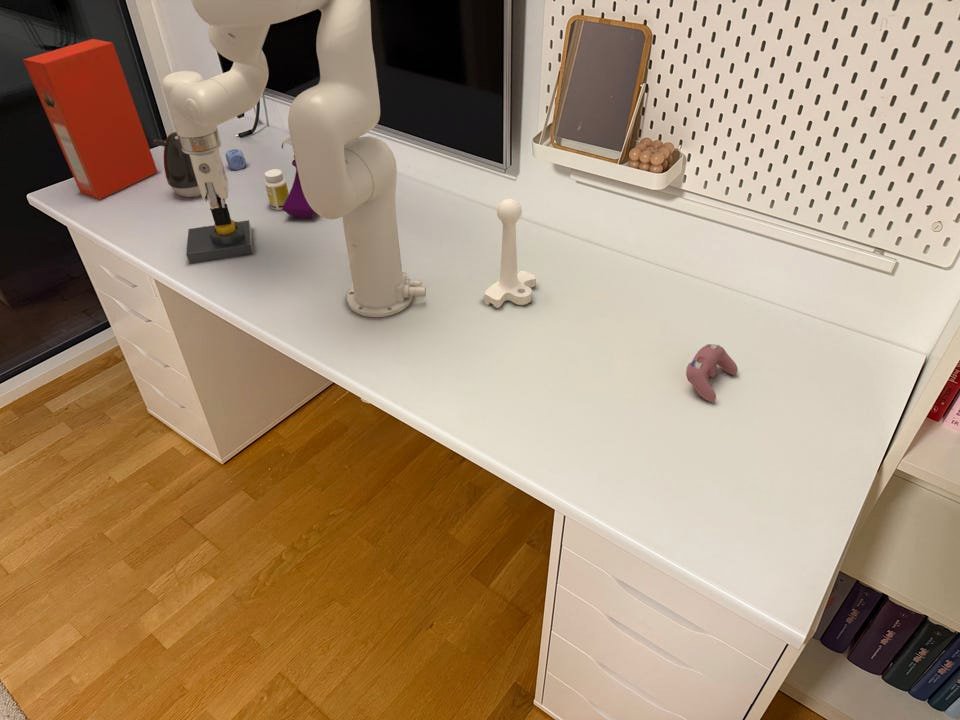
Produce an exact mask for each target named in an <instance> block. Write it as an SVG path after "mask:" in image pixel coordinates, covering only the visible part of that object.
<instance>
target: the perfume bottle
mask: <svg viewBox="0 0 960 720" xmlns="http://www.w3.org/2000/svg"><path fill="white" fill-rule="evenodd" d="M284 144H288V145H291V146H292V142H291V138H290V137H287V138H286V139H284V140H283V141H282V143H281V147H280V148H281V149H282V150H284ZM291 165H292V166H293V167H295V175H294V179H293V183H292V186H291V189H290V191H289V192H288V193H289V195H288V197H287V199H286V201H285V203H284V205H283V207H282V210H283V211H284V212H285V213H286V214H288V215H289V216H290V217H292V218H293V219H300V220H301V219H302V220H304V219H305V220H311V219H312V218H313V217H314V216H315V213H316V212H315V211H314V210H313V209H312V208H311V207H310V205H309V204H308V202H307V200H306V198H305V196H304V193H303V191H302V187H301V183H300V179H299V175H298V170H297V165H296V161H295V156H294V155H293V160H292V162H291ZM282 210H281V211H282Z"/></svg>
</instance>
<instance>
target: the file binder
mask: <svg viewBox="0 0 960 720" xmlns="http://www.w3.org/2000/svg"><path fill="white" fill-rule="evenodd" d="M22 61H23V64H24V66H25V68H26V70H27V73H28V75H29V77H30V80H31V82H32V84H33V87H34V89H35V91H36V93H37V95H38V98H39V100H40V102H41V105H42V107H43V109H44V112H45V114H46V116H47V120H48V121H49V124H50V126H51V128H52V130H53V132H54V135H55V138H56V140H57V142H58V144H59V147H60V149H61V152H62V154H63V156H64V158H65V161H66V164H67V165H68V167H69V170H70V172H71V174H72V177H73V179H74V181H75V183H76V186H77V189H78V191H79V192H80V194H81V195H84V196H87V197H90V198H93V199H96V200H98V201H100V200H102V199H105V198H106V197H108V196H110V195H112V194H115V193H117V192H119V191H121V190H123V189H125V188H127V187H129V186H132V185H134V184H136V183H138V182H140V181H142V180H144V179H146V178H148V177H150V176H151V177H152V176H153V175H156V174H157V173H158V172H159V171H158V168H157V165H156V163H155V160H154V157H153V154H152V152H151V149H150V146H149V142H148V140H147V136H146V134H145V132H144V129H143V125H142V122H141V119H140V117H139V114H138V111H137V108H136V105H135V103H134V99H133V97H132V93H131V91H130V88H129V85H128V82H127V78H126V77H125V74H124V71H123V68H122V65H121V62H120V60H119V56H118V53H117V51H116V48H115V45H114V43H113V42H112V41H105V40H101V39H95V38H91V39H88V40H84V41H80V42H77V43H75V44H70V45H67V46H64V47H60V48H58V49H54V50H51V51H47V52H44V53H40V54H37V55H34V56H30V57H27V58H24V59H22Z"/></svg>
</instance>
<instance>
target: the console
mask: <svg viewBox="0 0 960 720" xmlns="http://www.w3.org/2000/svg"><path fill="white" fill-rule="evenodd" d="M233 221H234V220H233ZM234 223H235V227H236V230H235V231H234V232H232V233H230V234H225V235H221V234H217V232H216V228H215V224H213V225H207V226H206V225H205V226H200V227H193V228H188V231H187V232H188V233H187V243H186V252H185V254H186V257H187V260H188V261H187V262H188V263H189V264H190V265H192V264H198V263H199V264H200V263H206V262H212V261H218V260H225V259H232V258H238V257H243V256H250V255H251V256H252V255H254V248H253V232H252V231H253V230H252V226H251V223H250V219H248V220H242V221H234Z"/></svg>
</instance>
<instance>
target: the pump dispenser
mask: <svg viewBox="0 0 960 720" xmlns="http://www.w3.org/2000/svg"><path fill="white" fill-rule="evenodd" d="M152 143H153V145H156V146H160V147H163V168H164V173H165V178H166V183H167V185H169V186H170V187H171V189H172V190H173V191H174V192H175V193H176V194H177V195H178V196H181V197H186V198H196V197H199V196H201V193H200V190H199V187H198V183H197V180H196V177H195V173H194V170H193V166H192V163H191V159H190V156H189V154H186V153H184V152H183V151H182V149H181V146H180V143H179V139H178V136H177V133H176V131H173V132H171V133H169V134H168V135H167V137H166V139H165V140H163V139H153V141H152Z"/></svg>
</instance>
